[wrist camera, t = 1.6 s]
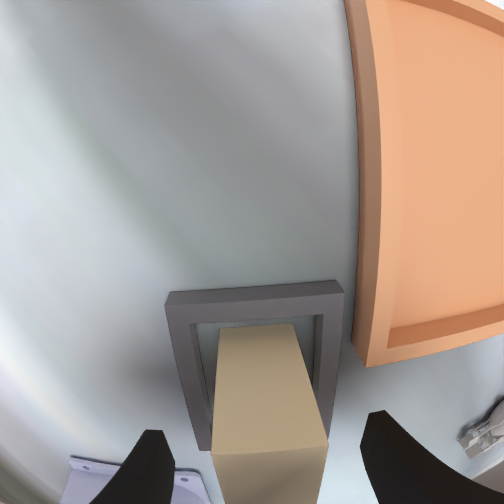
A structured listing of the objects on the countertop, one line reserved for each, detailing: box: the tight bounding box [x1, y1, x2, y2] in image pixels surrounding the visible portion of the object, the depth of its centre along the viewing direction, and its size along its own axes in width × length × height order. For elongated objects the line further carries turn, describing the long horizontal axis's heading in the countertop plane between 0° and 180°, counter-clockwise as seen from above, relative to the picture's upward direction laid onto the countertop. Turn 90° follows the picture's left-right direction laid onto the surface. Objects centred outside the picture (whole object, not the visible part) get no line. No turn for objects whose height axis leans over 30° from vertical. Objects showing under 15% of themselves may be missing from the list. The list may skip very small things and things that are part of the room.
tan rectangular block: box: [211, 323, 329, 504], centre depth 11 cm, size 3×5×6 cm, turn 3°
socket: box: [165, 280, 345, 451], centre depth 13 cm, size 7×9×1 cm
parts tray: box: [344, 0, 504, 368], centre depth 10 cm, size 12×16×2 cm
